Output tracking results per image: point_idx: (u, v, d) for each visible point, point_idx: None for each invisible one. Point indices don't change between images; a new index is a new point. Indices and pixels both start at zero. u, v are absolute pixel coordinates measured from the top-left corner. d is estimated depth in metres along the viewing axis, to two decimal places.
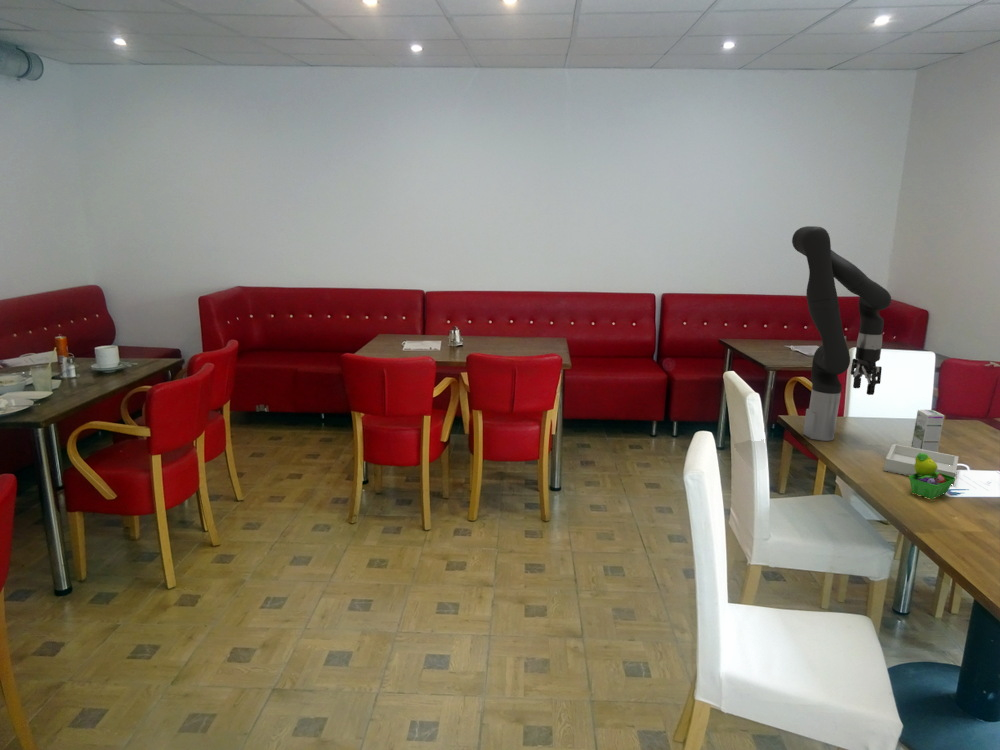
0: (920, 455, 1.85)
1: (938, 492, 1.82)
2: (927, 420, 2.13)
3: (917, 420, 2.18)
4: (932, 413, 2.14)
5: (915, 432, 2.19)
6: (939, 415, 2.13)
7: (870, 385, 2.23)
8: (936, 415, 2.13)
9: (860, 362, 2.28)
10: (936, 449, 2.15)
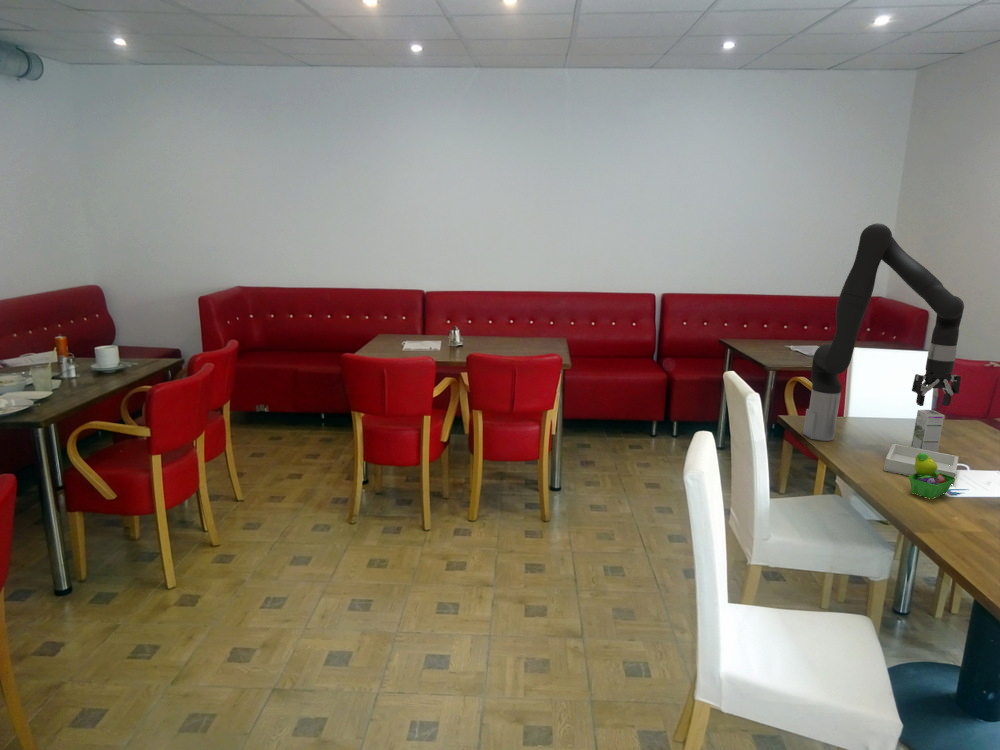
0: (920, 455, 1.85)
1: (938, 492, 1.82)
2: (927, 420, 2.13)
3: (917, 420, 2.18)
4: (932, 413, 2.14)
5: (915, 432, 2.19)
6: (939, 415, 2.13)
7: (950, 396, 2.14)
8: (936, 415, 2.13)
9: (934, 377, 2.11)
10: (936, 449, 2.15)
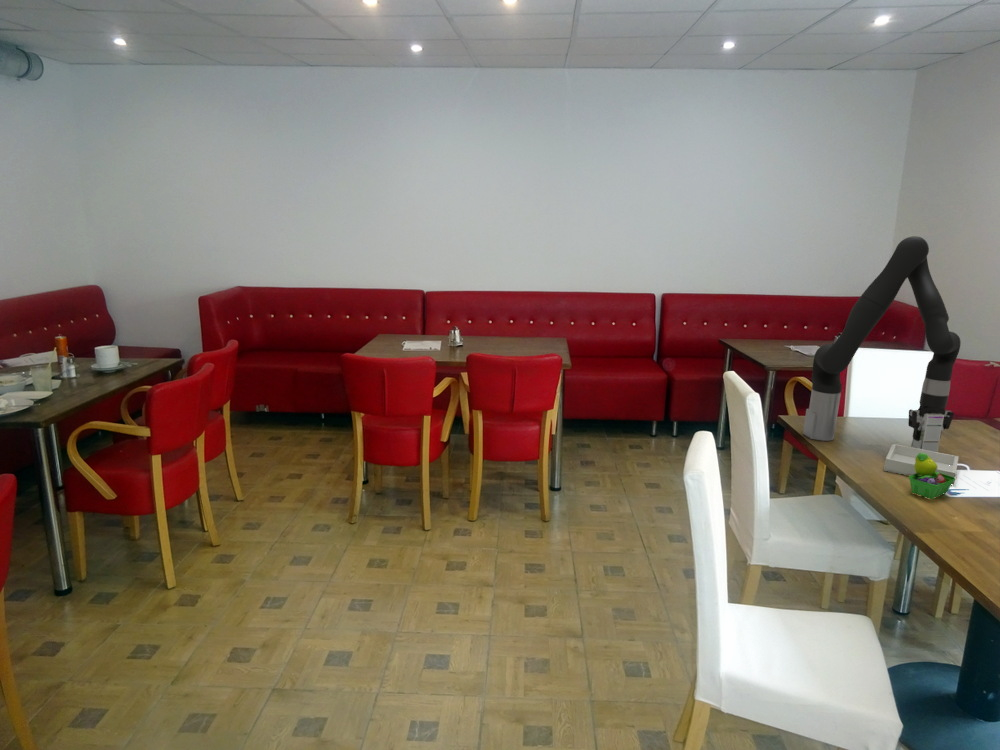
0: (920, 455, 1.85)
1: (938, 492, 1.82)
2: (927, 420, 2.13)
3: None
4: None
5: None
6: (939, 415, 2.13)
7: None
8: (936, 415, 2.13)
9: (928, 410, 2.14)
10: (936, 449, 2.15)
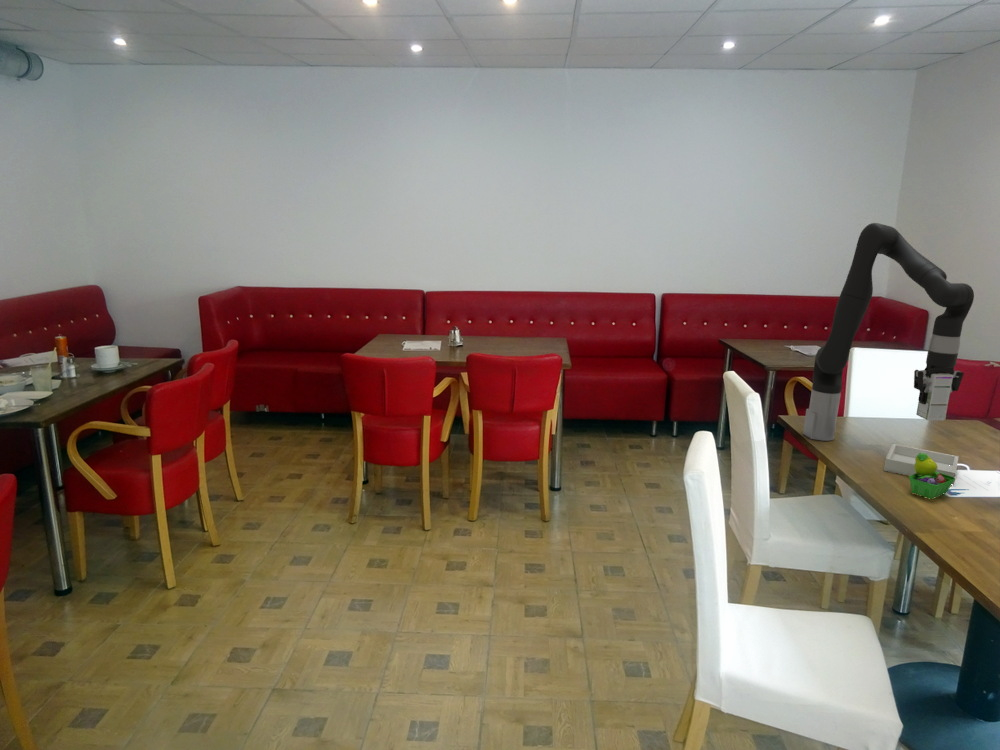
0: (920, 455, 1.85)
1: (938, 492, 1.82)
2: (935, 380, 1.94)
3: None
4: None
5: None
6: (948, 375, 1.94)
7: None
8: (944, 375, 1.94)
9: (935, 370, 1.95)
10: (944, 413, 1.97)
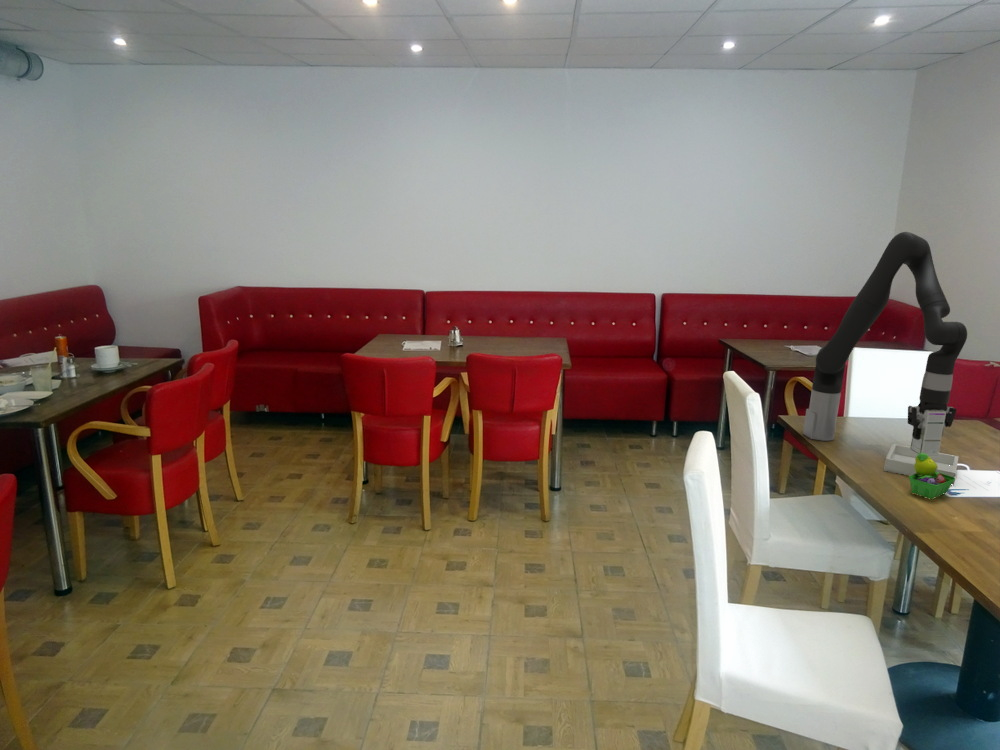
0: (920, 455, 1.85)
1: (938, 492, 1.82)
2: (928, 417, 1.97)
3: None
4: (933, 409, 1.98)
5: None
6: (941, 412, 1.97)
7: None
8: (937, 412, 1.97)
9: (928, 407, 1.98)
10: (938, 448, 1.99)
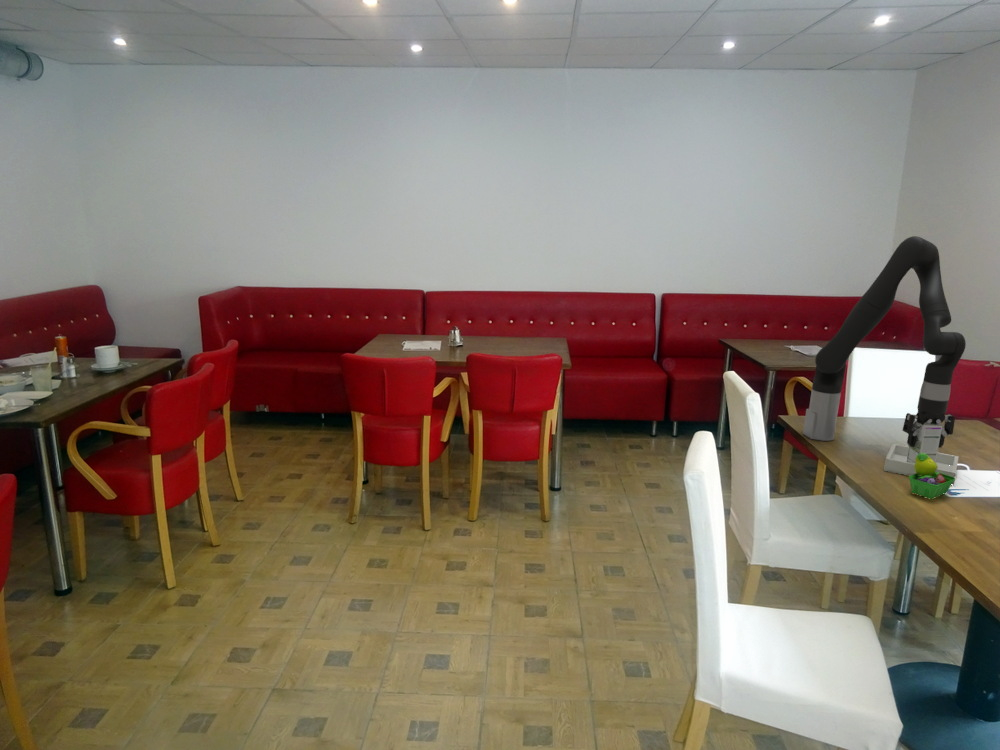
0: (920, 455, 1.85)
1: (938, 492, 1.82)
2: (924, 431, 1.98)
3: None
4: (929, 424, 1.99)
5: None
6: (937, 426, 1.98)
7: (943, 437, 2.01)
8: (934, 426, 1.98)
9: (926, 416, 1.99)
10: None
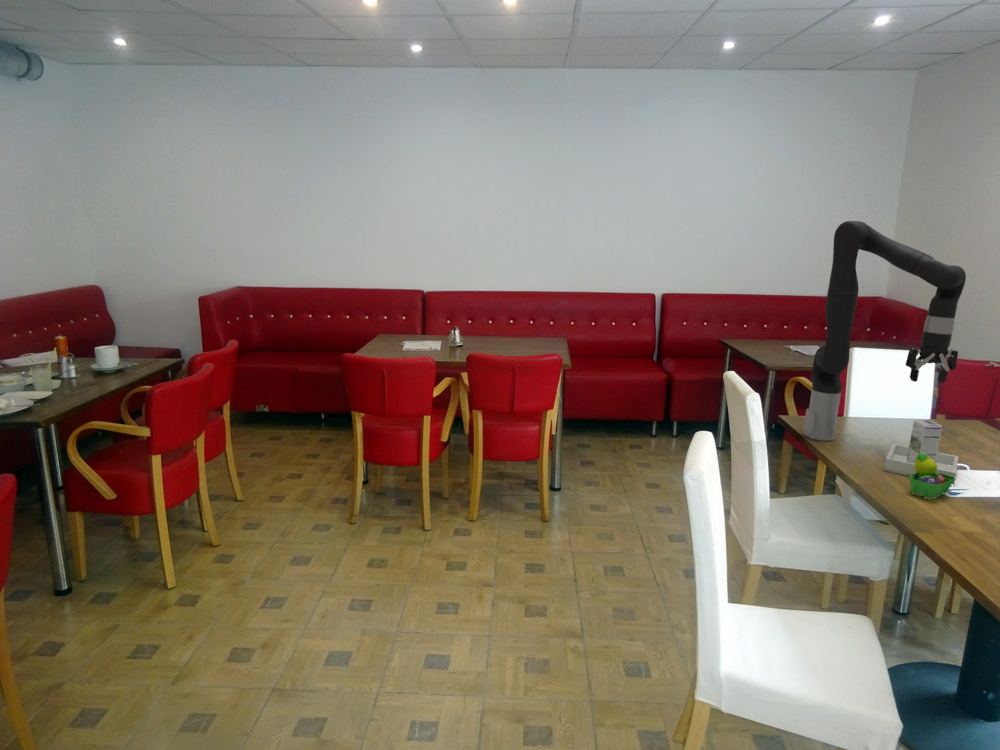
0: (920, 455, 1.85)
1: (938, 492, 1.82)
2: (924, 431, 1.98)
3: (913, 431, 2.03)
4: (929, 424, 1.99)
5: (911, 444, 2.04)
6: (937, 426, 1.98)
7: (946, 372, 2.03)
8: (934, 426, 1.98)
9: (929, 351, 2.01)
10: None
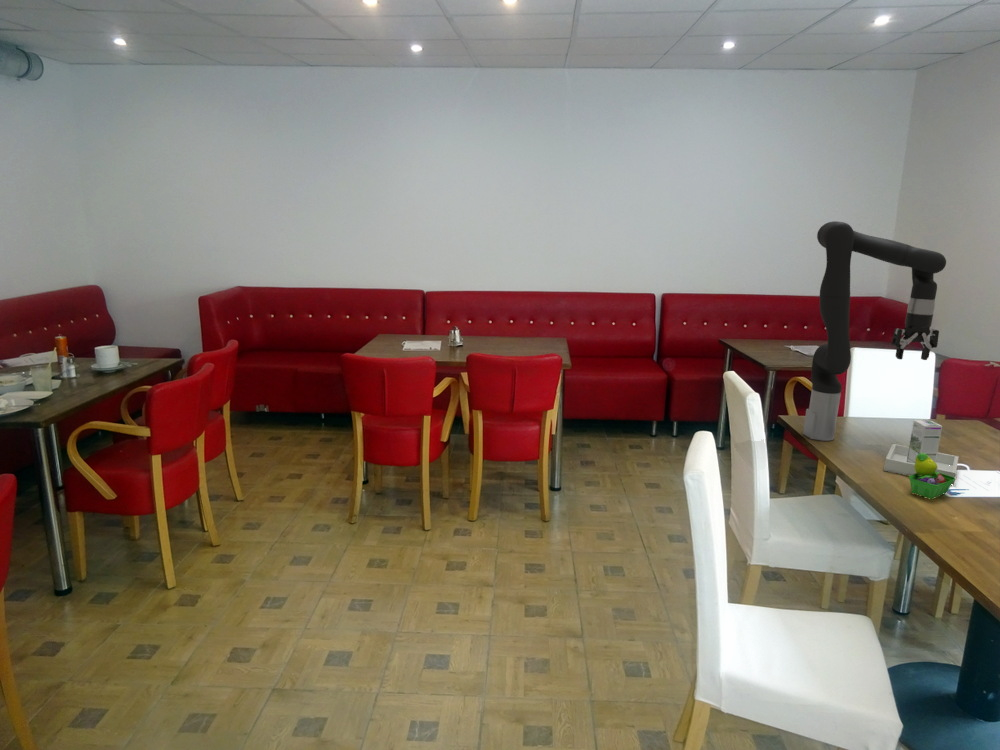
0: (920, 455, 1.85)
1: (938, 492, 1.82)
2: (924, 431, 1.98)
3: (913, 431, 2.03)
4: (929, 424, 1.99)
5: (911, 444, 2.04)
6: (937, 426, 1.98)
7: (929, 350, 2.20)
8: (934, 426, 1.98)
9: (913, 330, 2.18)
10: None
